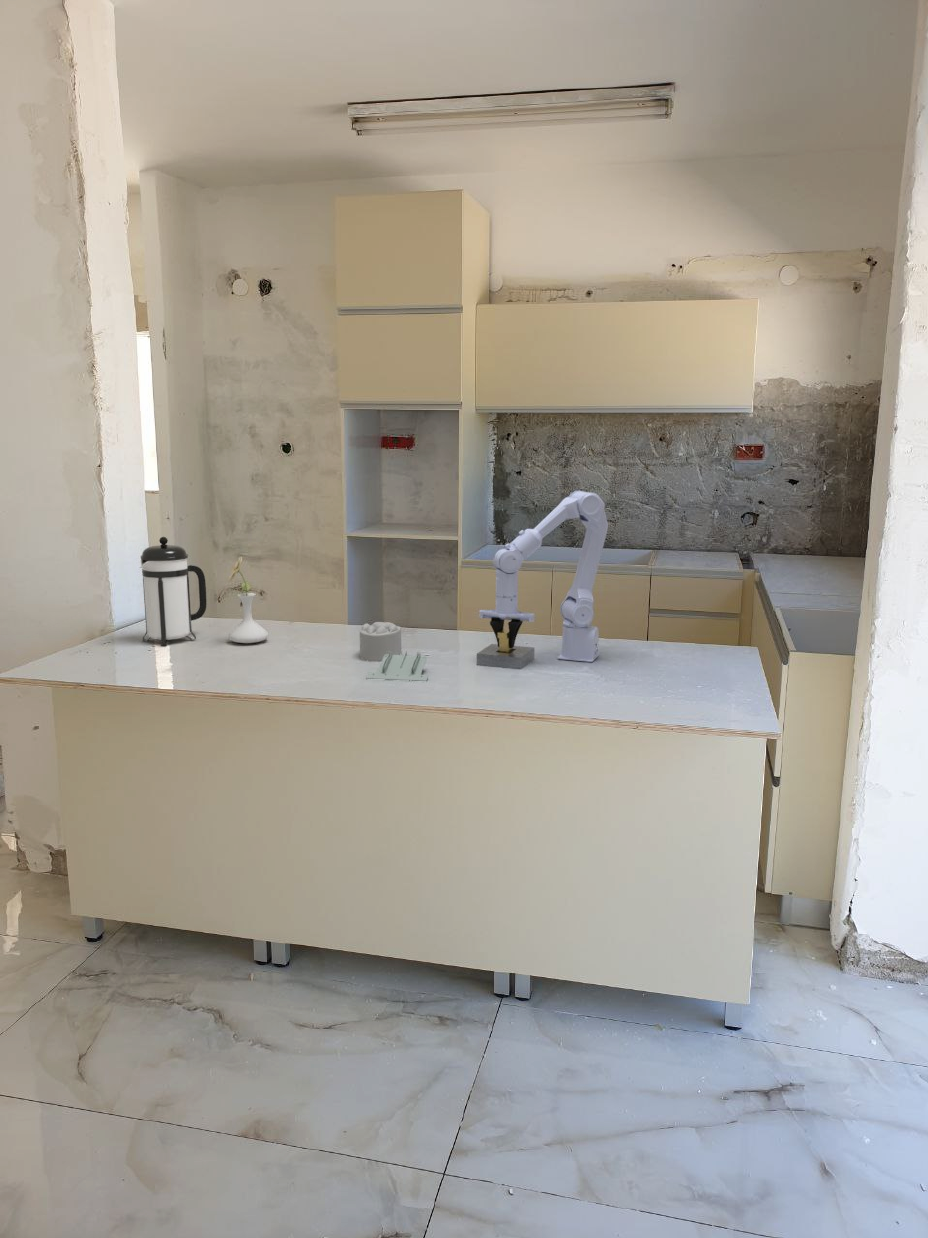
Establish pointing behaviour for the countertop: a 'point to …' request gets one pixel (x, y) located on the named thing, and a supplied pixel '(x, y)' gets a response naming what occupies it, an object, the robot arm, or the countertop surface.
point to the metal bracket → (401, 668)
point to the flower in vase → (246, 616)
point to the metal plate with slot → (505, 657)
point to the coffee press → (169, 592)
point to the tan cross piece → (504, 641)
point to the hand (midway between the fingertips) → (506, 646)
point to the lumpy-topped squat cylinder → (379, 640)
